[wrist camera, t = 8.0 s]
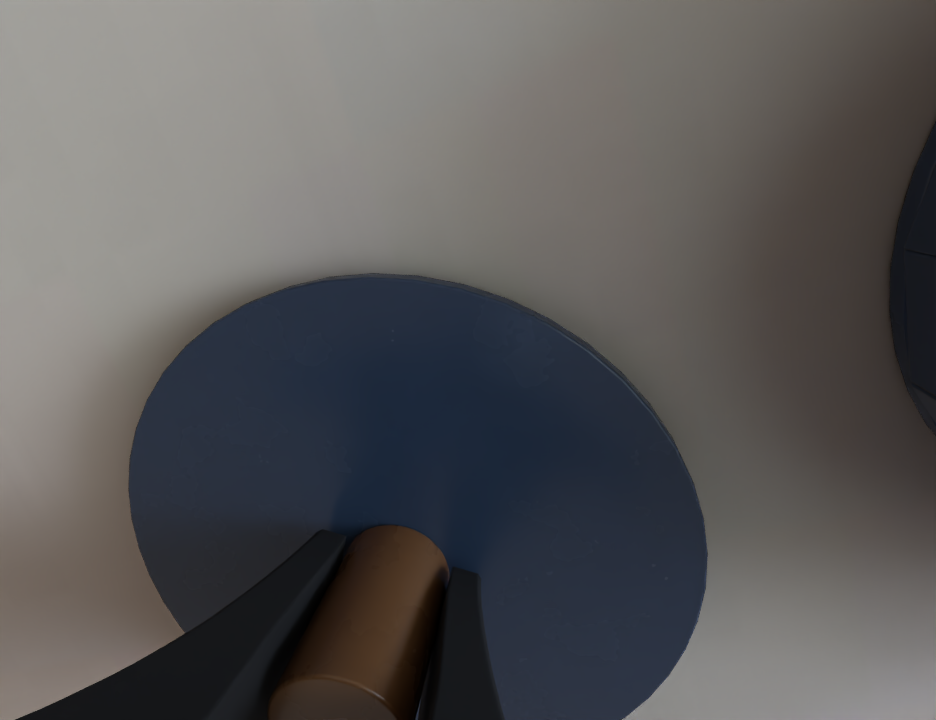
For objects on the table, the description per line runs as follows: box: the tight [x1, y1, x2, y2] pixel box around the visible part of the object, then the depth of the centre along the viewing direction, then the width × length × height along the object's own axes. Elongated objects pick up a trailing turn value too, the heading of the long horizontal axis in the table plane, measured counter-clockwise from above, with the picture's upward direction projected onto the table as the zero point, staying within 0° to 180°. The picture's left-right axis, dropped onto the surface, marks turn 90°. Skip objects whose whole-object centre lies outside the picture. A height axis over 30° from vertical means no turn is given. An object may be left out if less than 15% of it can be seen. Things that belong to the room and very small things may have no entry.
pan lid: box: [129, 273, 708, 720], centre depth 11 cm, size 14×14×5 cm
